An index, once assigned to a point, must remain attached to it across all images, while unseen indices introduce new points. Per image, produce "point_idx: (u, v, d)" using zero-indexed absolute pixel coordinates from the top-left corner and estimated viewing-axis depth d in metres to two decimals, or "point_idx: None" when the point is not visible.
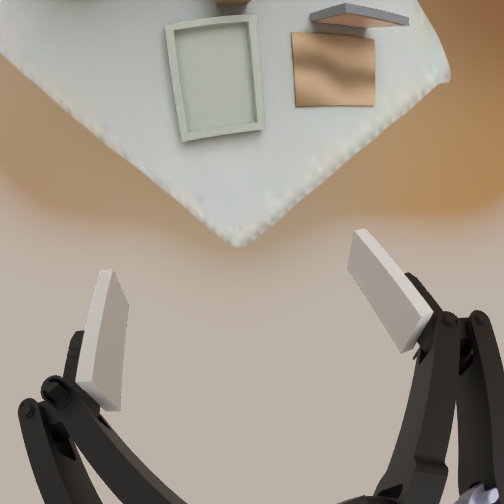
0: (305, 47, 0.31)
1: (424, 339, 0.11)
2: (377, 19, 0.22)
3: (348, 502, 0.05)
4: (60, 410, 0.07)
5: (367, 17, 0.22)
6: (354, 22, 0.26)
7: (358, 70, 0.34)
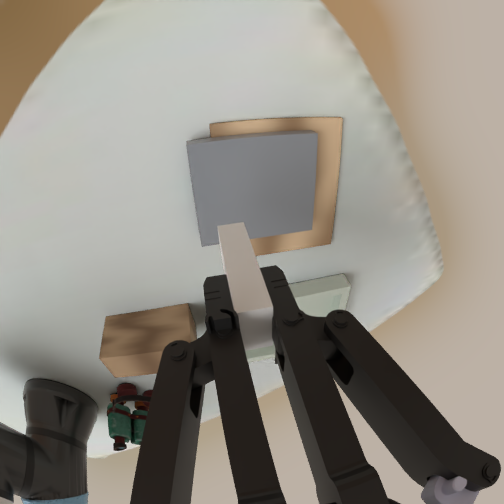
0: None
1: (274, 345, 0.12)
2: None
3: None
4: (215, 340, 0.10)
5: None
6: None
7: None
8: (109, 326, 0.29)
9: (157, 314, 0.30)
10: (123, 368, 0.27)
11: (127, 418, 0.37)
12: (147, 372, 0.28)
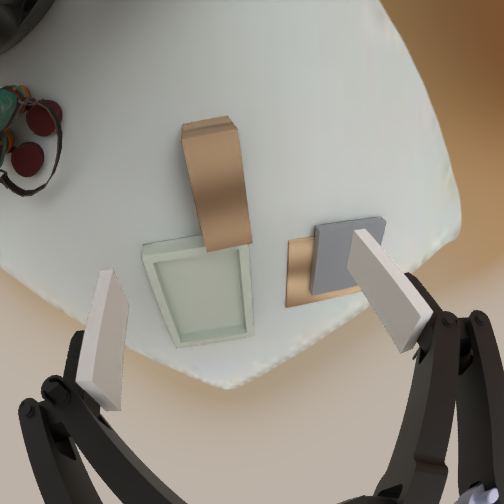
0: (302, 256, 0.35)
1: (424, 339, 0.11)
2: None
3: (348, 502, 0.05)
4: (60, 410, 0.07)
5: None
6: None
7: None
8: None
9: None
10: (210, 158, 0.20)
11: (3, 127, 0.15)
12: (198, 190, 0.21)
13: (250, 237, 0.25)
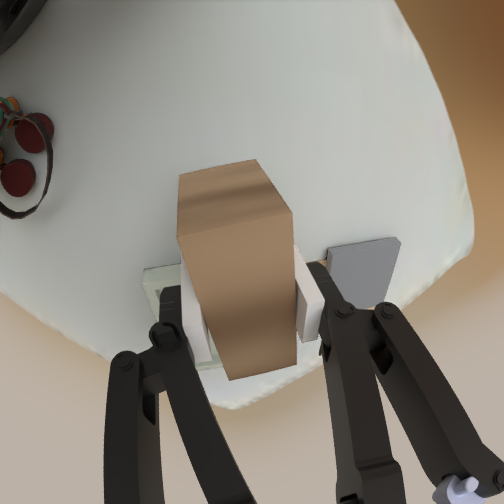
0: None
1: (322, 335, 0.12)
2: None
3: (348, 502, 0.05)
4: (162, 354, 0.10)
5: None
6: None
7: None
8: None
9: None
10: (236, 267, 0.11)
11: None
12: (214, 316, 0.12)
13: (294, 359, 0.16)
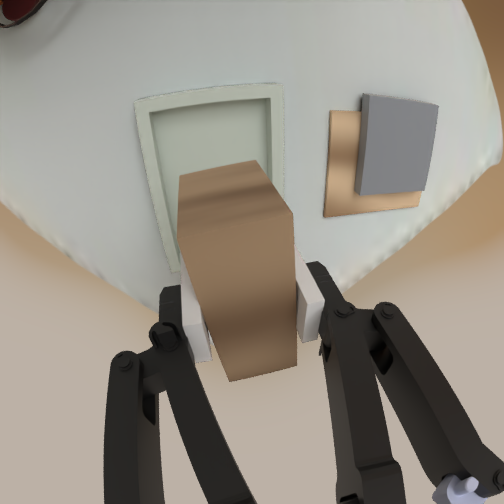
0: (347, 135, 0.24)
1: (322, 335, 0.12)
2: None
3: (348, 502, 0.05)
4: (162, 354, 0.10)
5: None
6: None
7: None
8: None
9: None
10: (236, 269, 0.11)
11: None
12: (214, 317, 0.12)
13: (295, 360, 0.16)
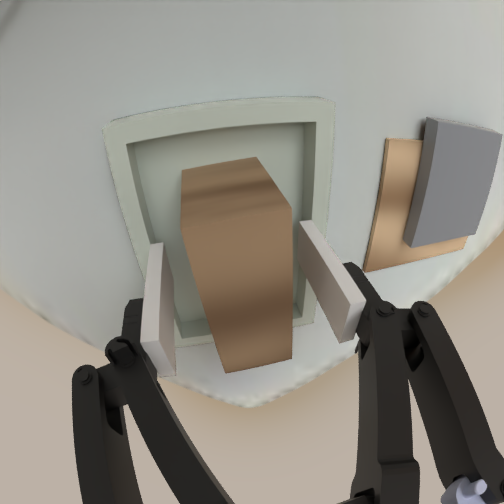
0: (404, 172, 0.18)
1: (361, 333, 0.12)
2: None
3: (348, 502, 0.05)
4: (120, 371, 0.09)
5: None
6: None
7: None
8: None
9: None
10: (236, 260, 0.11)
11: None
12: (213, 307, 0.13)
13: (290, 353, 0.16)
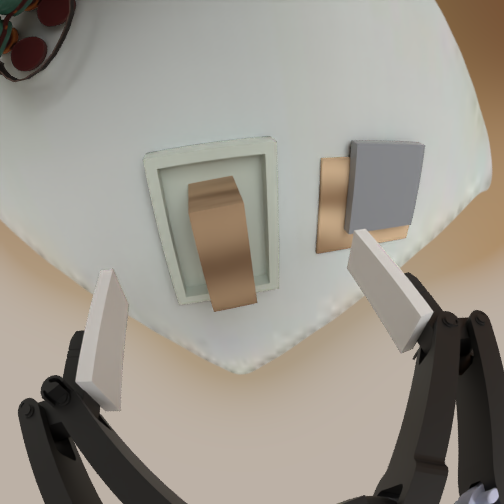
0: (337, 180, 0.28)
1: (424, 339, 0.11)
2: None
3: (348, 502, 0.05)
4: (60, 410, 0.07)
5: None
6: None
7: None
8: None
9: None
10: (216, 230, 0.21)
11: (13, 7, 0.09)
12: (205, 259, 0.23)
13: (255, 298, 0.26)
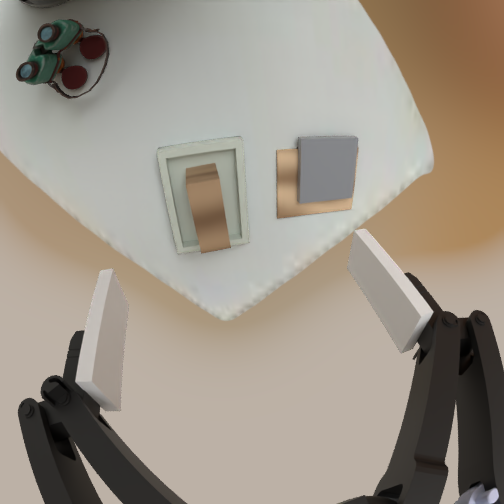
0: (289, 165, 0.40)
1: (424, 339, 0.11)
2: None
3: (348, 502, 0.05)
4: (60, 410, 0.07)
5: None
6: None
7: None
8: None
9: None
10: (203, 196, 0.34)
11: (65, 45, 0.21)
12: (195, 215, 0.35)
13: (229, 244, 0.39)
